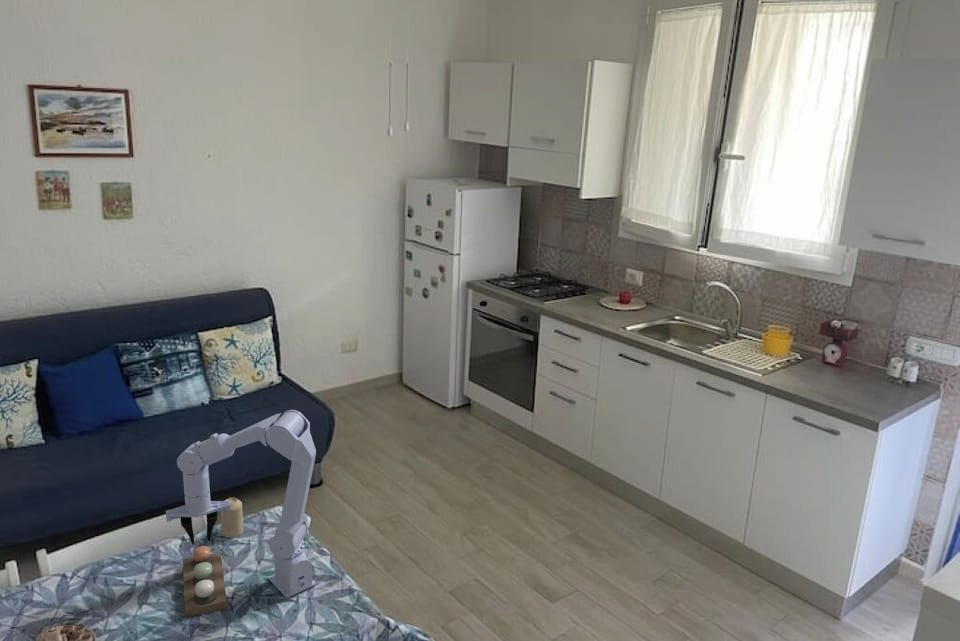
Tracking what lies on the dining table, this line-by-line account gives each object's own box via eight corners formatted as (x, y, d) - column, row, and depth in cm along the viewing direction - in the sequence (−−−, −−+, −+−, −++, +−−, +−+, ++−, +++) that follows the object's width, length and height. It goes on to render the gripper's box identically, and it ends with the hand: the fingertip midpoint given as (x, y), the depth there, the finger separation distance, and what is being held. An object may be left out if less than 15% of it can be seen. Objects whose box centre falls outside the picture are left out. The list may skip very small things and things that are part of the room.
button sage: (212, 576, 172) (212, 570, 171) (194, 580, 170) (194, 574, 169) (211, 567, 175) (211, 560, 175) (194, 570, 174) (193, 564, 173)
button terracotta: (211, 560, 178) (210, 553, 177) (193, 563, 176) (193, 556, 176) (210, 550, 181) (209, 544, 181) (193, 553, 180) (192, 547, 179)
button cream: (214, 595, 165) (214, 588, 165) (196, 599, 164) (195, 592, 163) (213, 584, 169) (213, 578, 168) (195, 588, 167) (194, 581, 167)
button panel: (227, 608, 167) (226, 600, 166) (185, 617, 163) (184, 609, 162) (221, 558, 184) (220, 551, 183) (183, 565, 181) (182, 557, 180)
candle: (239, 538, 193) (237, 506, 190) (219, 537, 193) (217, 505, 190) (246, 527, 198) (244, 495, 195) (226, 526, 198) (224, 494, 195)
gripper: (227, 479, 180) (230, 526, 184) (164, 488, 174) (168, 536, 178) (229, 493, 173) (232, 541, 177) (164, 503, 168) (169, 552, 172)
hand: (200, 540), depth 177 cm, fingers open, 3 cm apart
